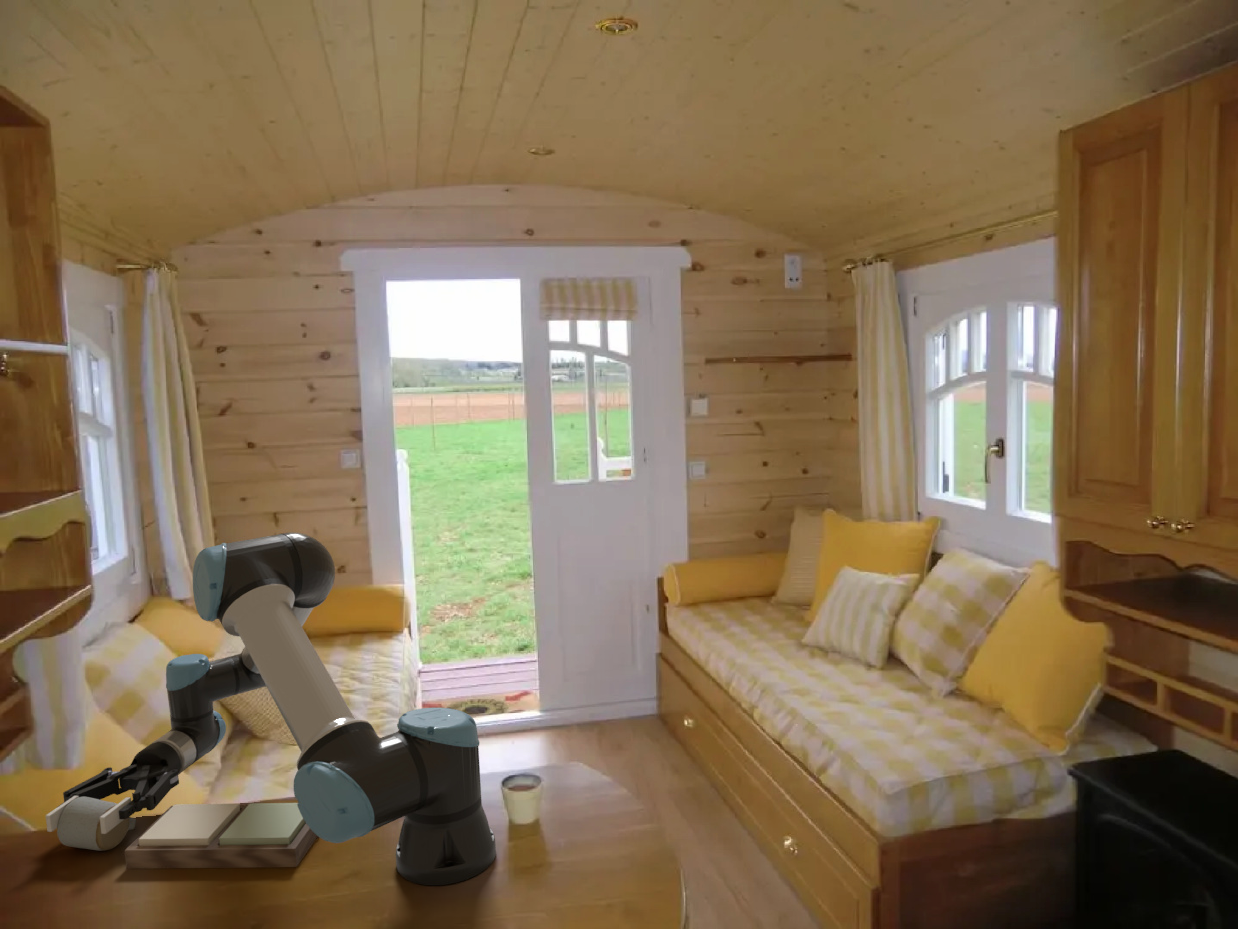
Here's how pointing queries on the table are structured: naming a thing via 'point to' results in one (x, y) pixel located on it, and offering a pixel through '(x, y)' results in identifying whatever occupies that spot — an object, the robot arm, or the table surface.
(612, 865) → the table surface
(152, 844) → the cream key
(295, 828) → the sage key
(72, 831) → the ceramic mug
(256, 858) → the key pad frame
